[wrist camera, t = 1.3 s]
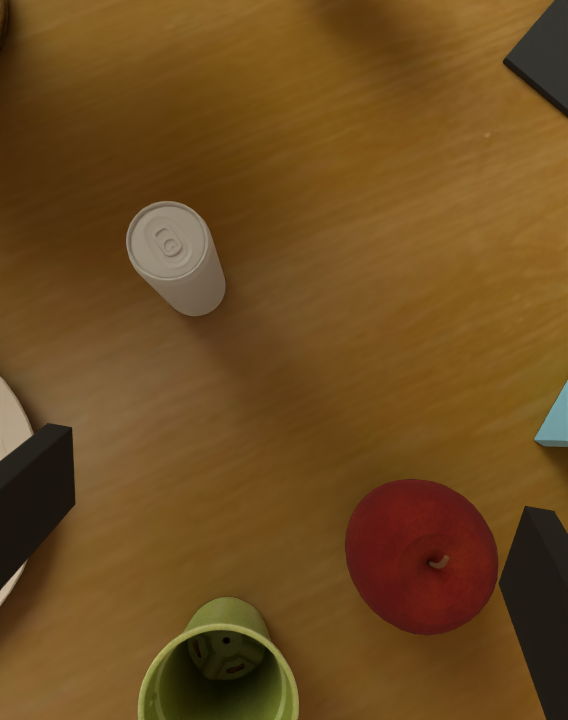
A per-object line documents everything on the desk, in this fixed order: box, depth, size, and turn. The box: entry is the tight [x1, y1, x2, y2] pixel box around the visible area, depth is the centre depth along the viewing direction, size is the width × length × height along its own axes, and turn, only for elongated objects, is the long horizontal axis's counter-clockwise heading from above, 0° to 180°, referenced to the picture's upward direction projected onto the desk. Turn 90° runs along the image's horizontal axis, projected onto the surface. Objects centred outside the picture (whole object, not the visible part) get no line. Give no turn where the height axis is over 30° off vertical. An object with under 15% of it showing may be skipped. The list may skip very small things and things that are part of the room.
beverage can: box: [126, 201, 226, 316], centre depth 34 cm, size 5×5×12 cm
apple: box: [345, 479, 498, 635], centre depth 34 cm, size 10×10×10 cm
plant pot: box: [138, 597, 299, 720], centre depth 34 cm, size 9×9×9 cm
